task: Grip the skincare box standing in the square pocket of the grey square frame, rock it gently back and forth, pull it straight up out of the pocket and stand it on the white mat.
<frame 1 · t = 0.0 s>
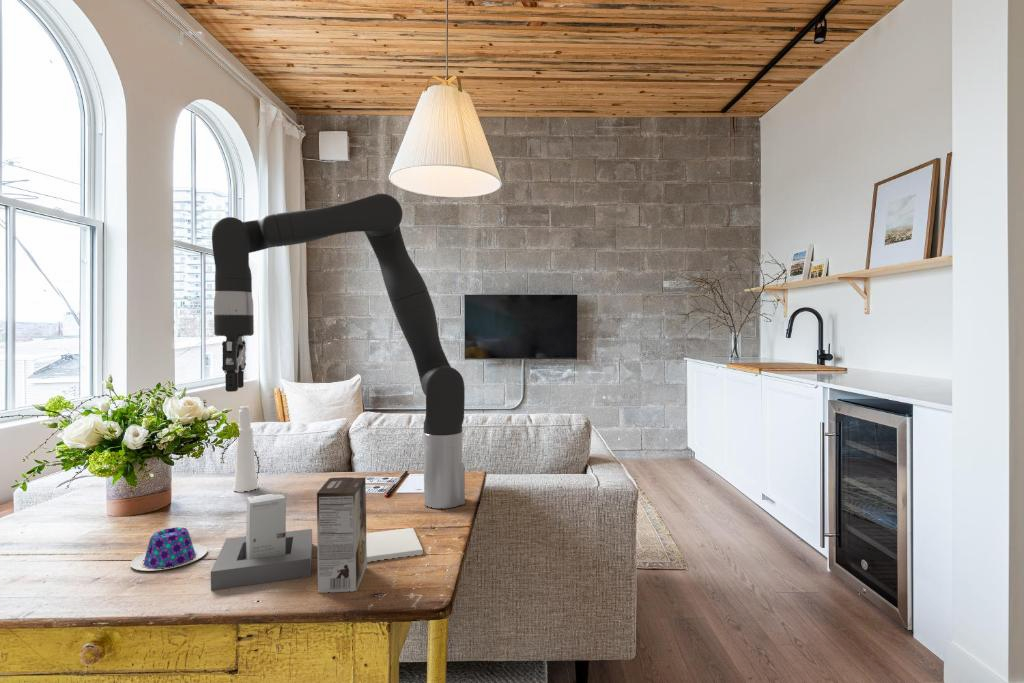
hand: (235, 389, 117), 29 cm above the table, tool pointing down, fingers open, 8 cm apart
skincare box: (266, 566, 97), resting in grey square frame
coffee box: (343, 581, 91), on the table
cosmetic bottle: (245, 489, 145), on the table
grey square frame: (266, 564, 97), on the table
white mat: (386, 547, 105), on the table
purple patterned hat: (170, 561, 100), on the table
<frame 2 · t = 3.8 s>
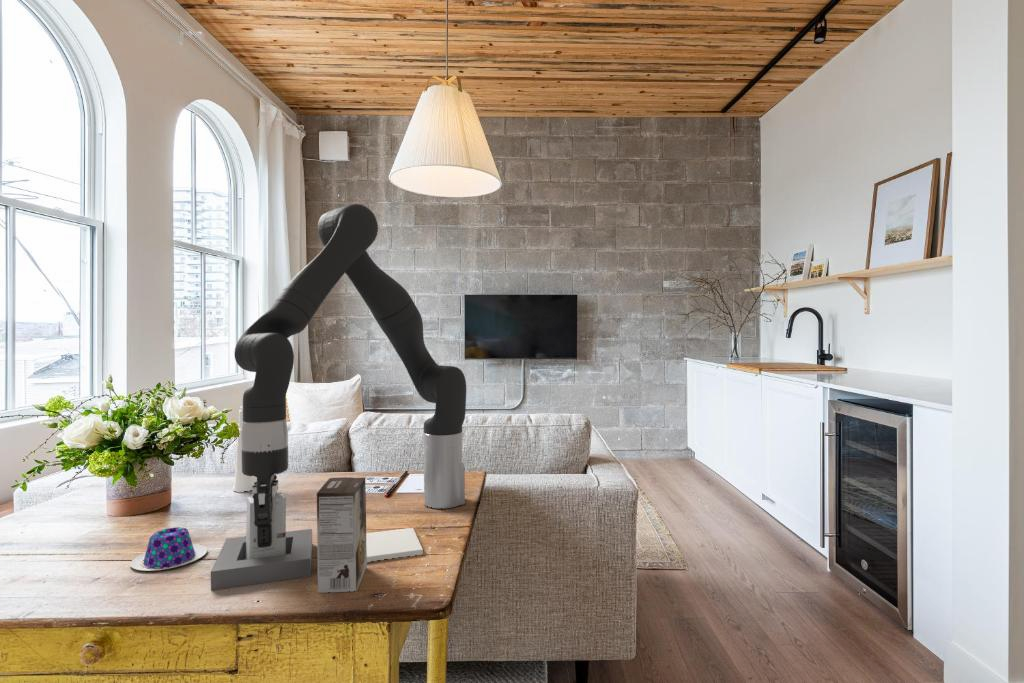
hand: (266, 540, 97), 4 cm above the table, tool pointing down, fingers closed on skincare box, 5 cm apart
skincare box: (266, 565, 97), resting in grey square frame, touching gripper
everything else where it was.
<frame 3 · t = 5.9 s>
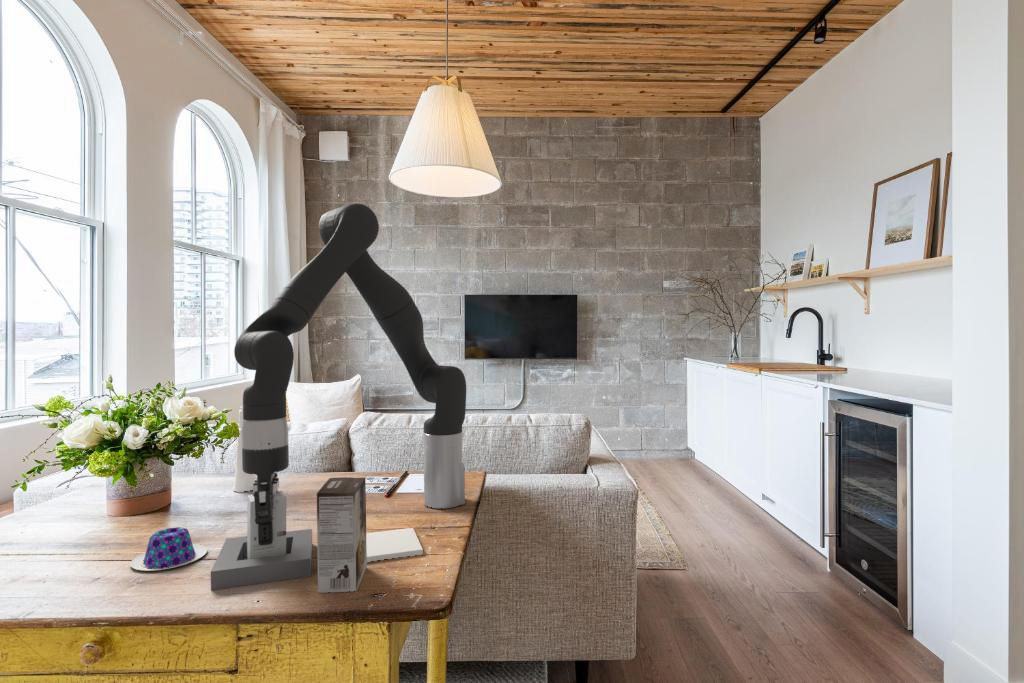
hand: (267, 538, 97), 5 cm above the table, tool pointing down, fingers closed on skincare box, 5 cm apart
skincare box: (267, 563, 97), resting in grey square frame, touching gripper
everything else where it was.
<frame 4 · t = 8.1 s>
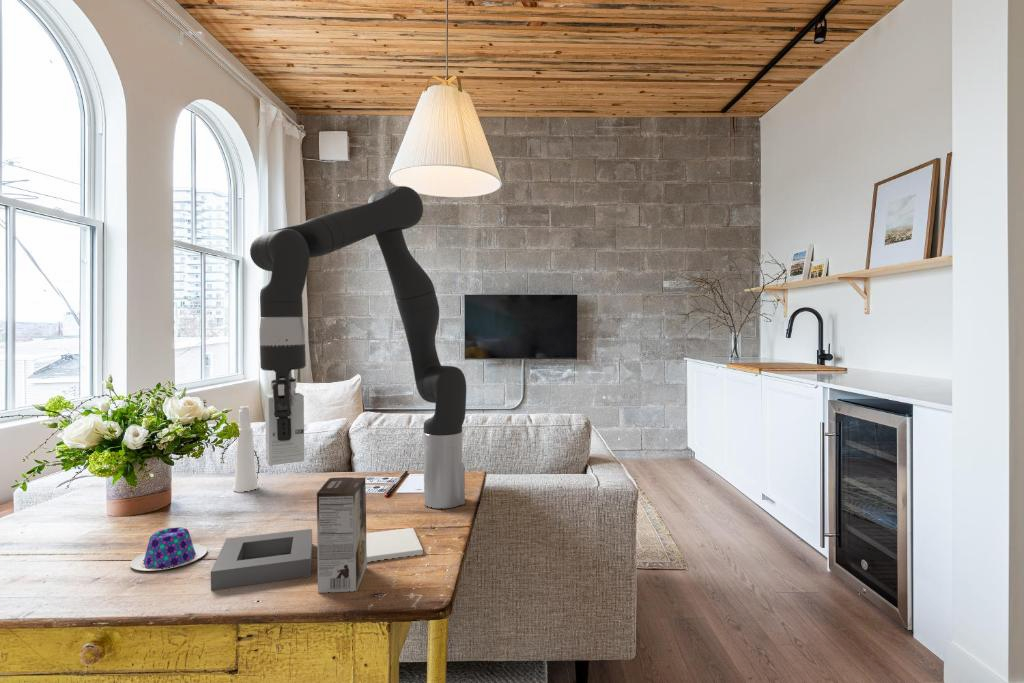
hand: (285, 436, 98), 23 cm above the table, tool pointing down, fingers closed on skincare box, 5 cm apart
skincare box: (285, 462, 99), point 18 cm above the table, touching gripper
everything else where it was.
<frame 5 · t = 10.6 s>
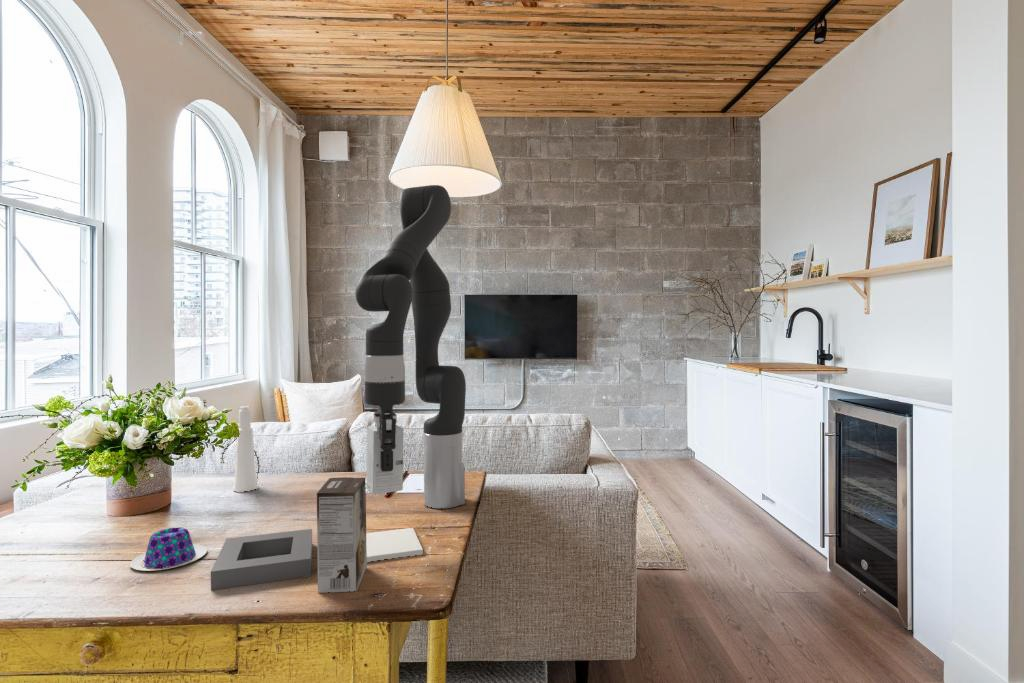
hand: (385, 467, 105), 15 cm above the table, tool pointing down, fingers closed on skincare box, 5 cm apart
skincare box: (384, 490, 105), point 11 cm above the table, touching gripper
when the fingers open (7 cm above the table, at t = 12.6 s): skincare box drops 1 cm, resting on white mat.
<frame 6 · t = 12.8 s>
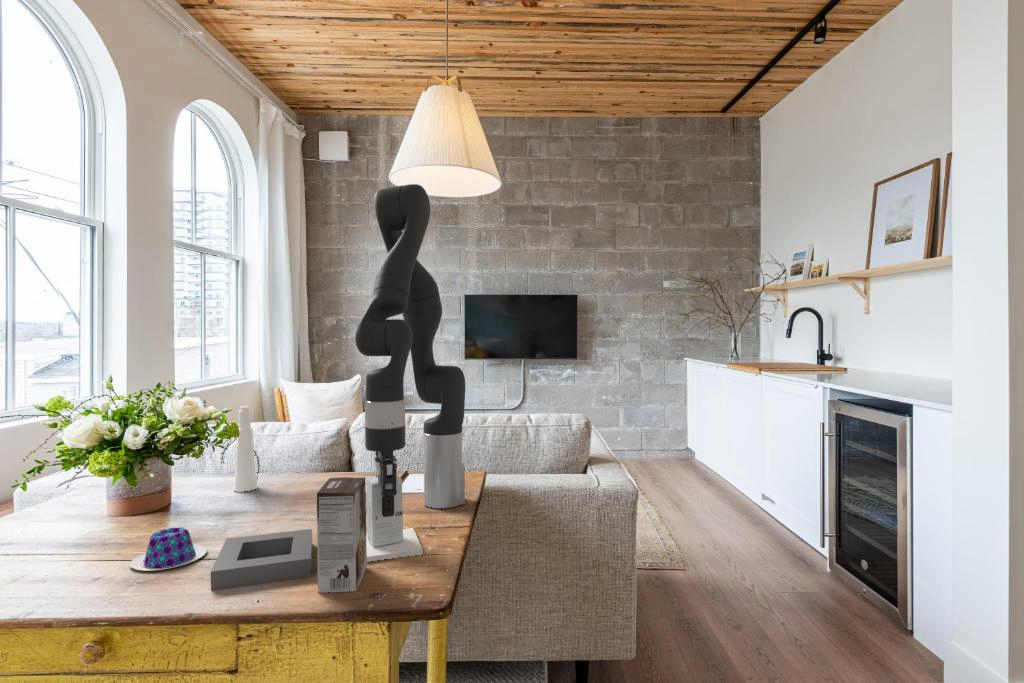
hand: (386, 510, 105), 7 cm above the table, tool pointing down, fingers open, 6 cm apart
skincare box: (385, 541, 105), point 1 cm above the table, touching white mat
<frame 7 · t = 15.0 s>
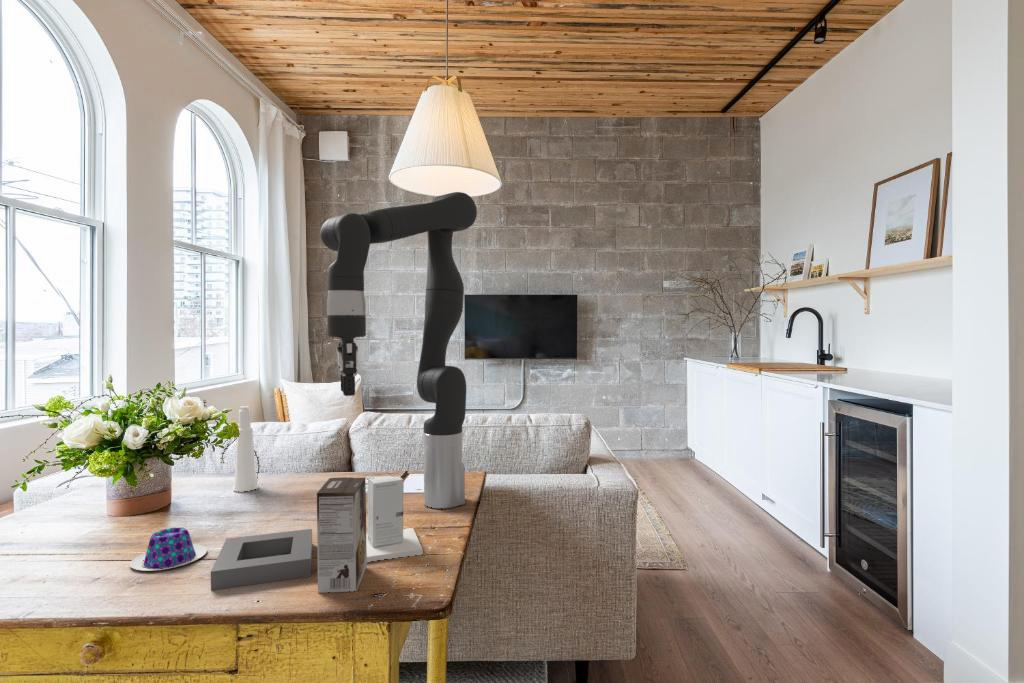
hand: (347, 393, 111), 29 cm above the table, tool pointing down, fingers open, 8 cm apart
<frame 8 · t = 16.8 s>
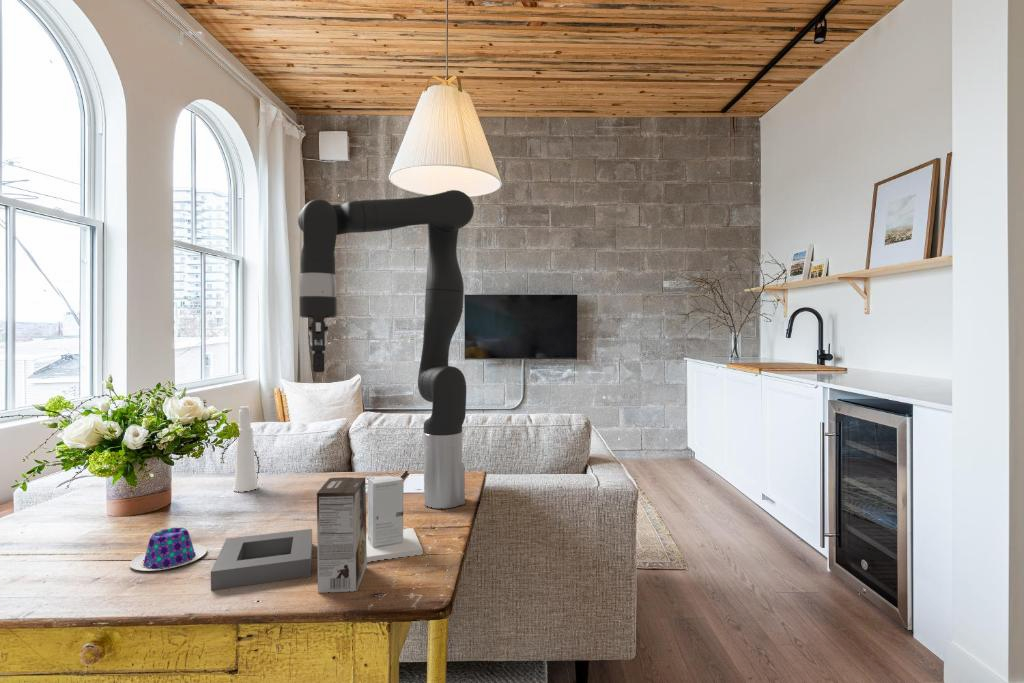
hand: (319, 370, 117), 33 cm above the table, tool pointing down, fingers open, 8 cm apart
at the end: skincare box inside the target area on the white mat (0.4 cm from its centre), point 0.8 cm above the white mat's base; skincare box tilted 0°; the gripper is holding nothing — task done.
